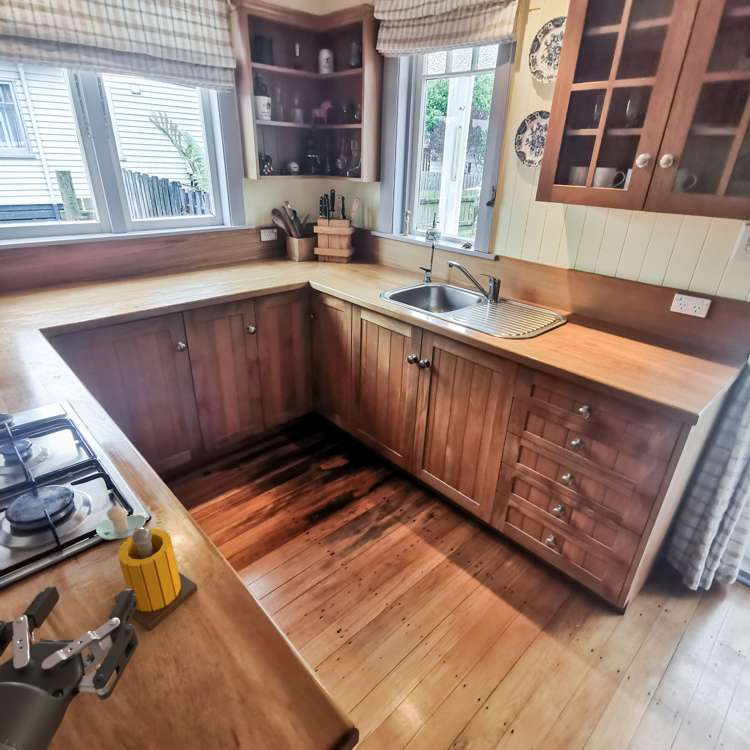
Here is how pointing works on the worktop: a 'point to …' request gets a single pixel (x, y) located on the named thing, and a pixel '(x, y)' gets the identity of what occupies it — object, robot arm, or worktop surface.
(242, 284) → the worktop surface
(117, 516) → the pacifier
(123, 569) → the yellow grooved hollow cylinder
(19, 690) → the robot arm
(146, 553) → the stand
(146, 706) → the worktop surface
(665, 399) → the worktop surface
